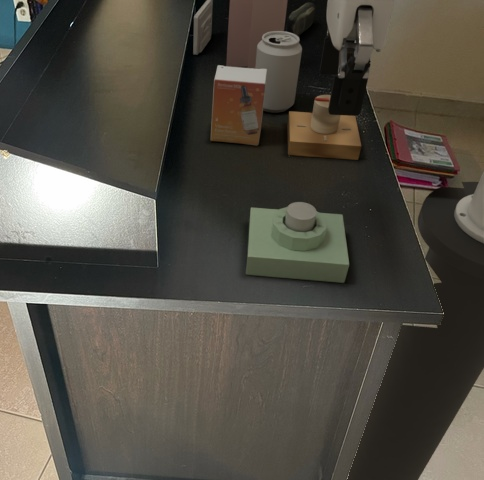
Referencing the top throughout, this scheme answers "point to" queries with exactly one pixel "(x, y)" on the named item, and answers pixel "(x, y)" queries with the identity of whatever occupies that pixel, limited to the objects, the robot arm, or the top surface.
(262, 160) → the top surface
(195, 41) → the cassette
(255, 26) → the greeting card
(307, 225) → the button
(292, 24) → the dark ridged elongated shape
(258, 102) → the small box
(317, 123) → the dial
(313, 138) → the panel
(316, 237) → the green push button box
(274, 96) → the can
